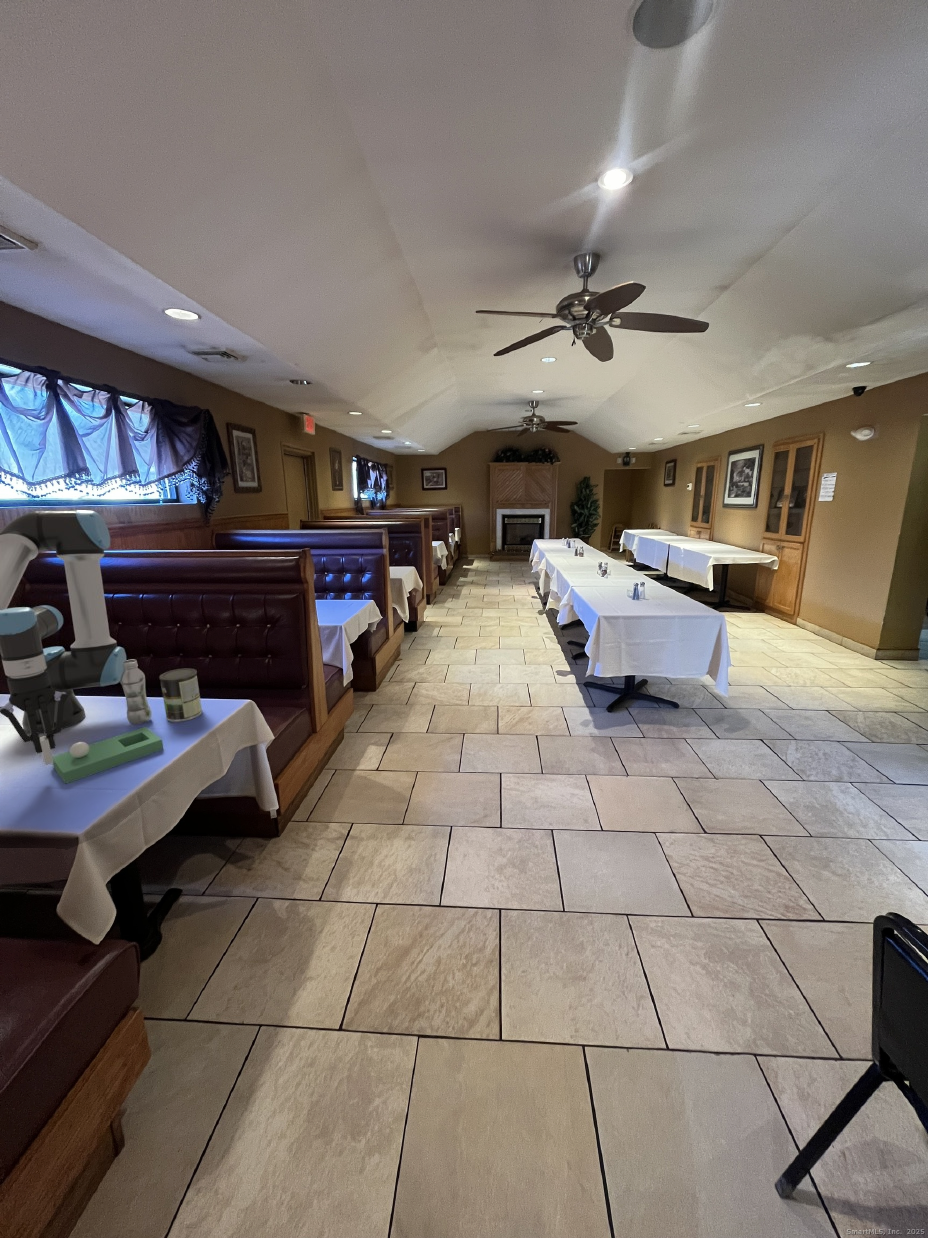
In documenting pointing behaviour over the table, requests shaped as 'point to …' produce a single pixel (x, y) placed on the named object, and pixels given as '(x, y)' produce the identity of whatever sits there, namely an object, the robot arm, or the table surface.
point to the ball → (79, 749)
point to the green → (107, 754)
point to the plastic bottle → (135, 693)
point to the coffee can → (181, 694)
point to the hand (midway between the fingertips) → (48, 762)
